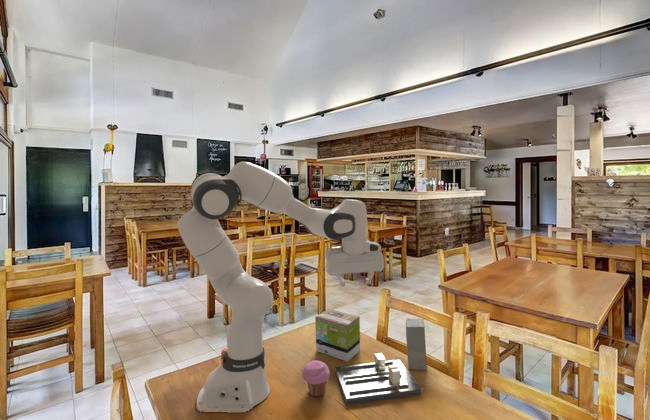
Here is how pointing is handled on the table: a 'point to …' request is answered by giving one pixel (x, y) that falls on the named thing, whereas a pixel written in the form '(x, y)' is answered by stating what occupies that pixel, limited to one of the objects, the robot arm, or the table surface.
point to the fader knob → (394, 374)
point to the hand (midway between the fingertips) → (355, 284)
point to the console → (374, 381)
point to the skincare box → (416, 344)
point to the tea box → (338, 334)
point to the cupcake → (316, 377)
